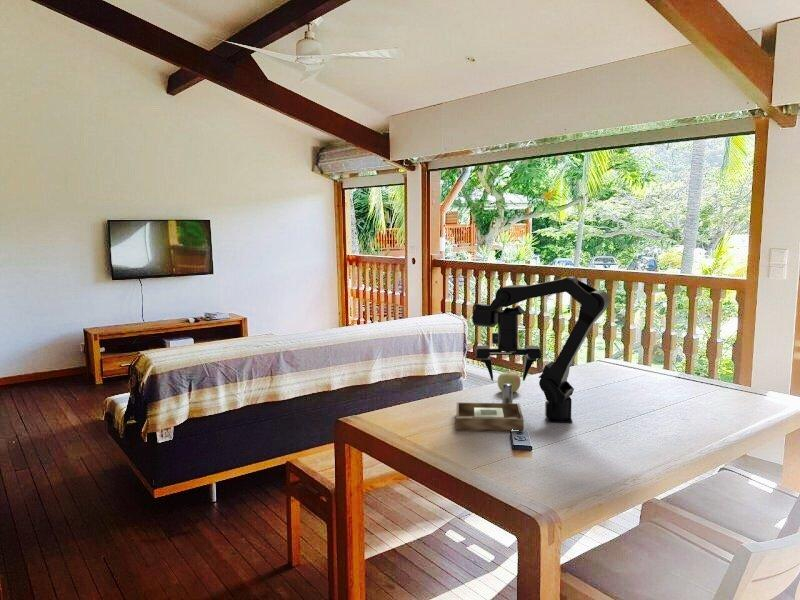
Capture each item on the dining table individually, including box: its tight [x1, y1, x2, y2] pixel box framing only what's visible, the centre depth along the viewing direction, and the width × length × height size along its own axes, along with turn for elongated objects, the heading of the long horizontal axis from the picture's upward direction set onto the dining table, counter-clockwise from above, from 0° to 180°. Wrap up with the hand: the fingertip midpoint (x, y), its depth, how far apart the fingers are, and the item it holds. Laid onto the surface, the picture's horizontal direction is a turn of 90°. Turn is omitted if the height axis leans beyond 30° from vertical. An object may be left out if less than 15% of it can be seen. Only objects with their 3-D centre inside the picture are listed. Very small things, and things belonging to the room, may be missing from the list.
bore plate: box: [474, 408, 504, 418], centre depth 167 cm, size 8×8×2 cm
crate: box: [455, 401, 525, 433], centre depth 167 cm, size 18×14×4 cm
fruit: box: [497, 368, 521, 393], centre depth 196 cm, size 8×7×8 cm
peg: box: [501, 383, 514, 403], centre depth 177 cm, size 3×3×8 cm
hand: (507, 380), depth 177 cm, fingers open, 9 cm apart
